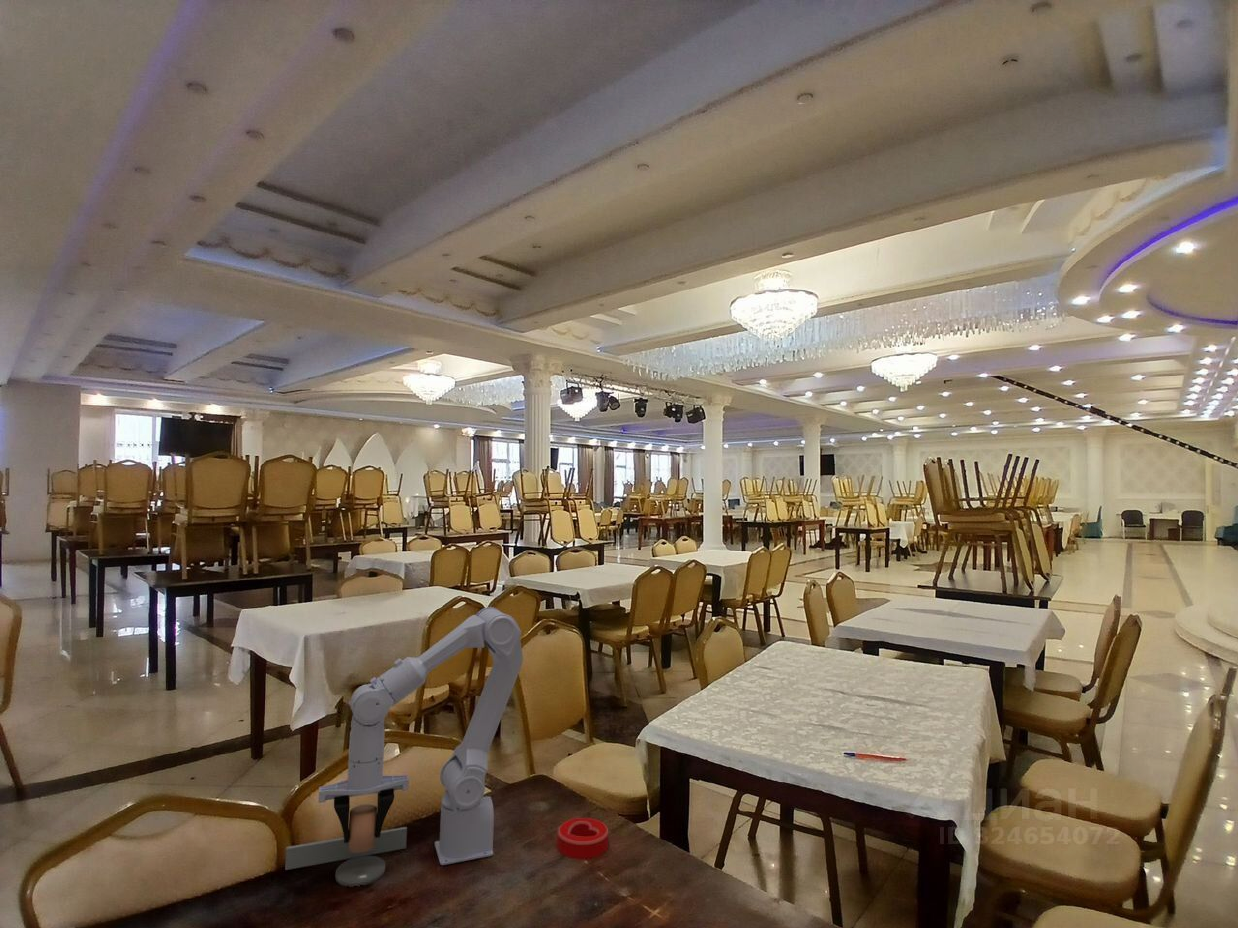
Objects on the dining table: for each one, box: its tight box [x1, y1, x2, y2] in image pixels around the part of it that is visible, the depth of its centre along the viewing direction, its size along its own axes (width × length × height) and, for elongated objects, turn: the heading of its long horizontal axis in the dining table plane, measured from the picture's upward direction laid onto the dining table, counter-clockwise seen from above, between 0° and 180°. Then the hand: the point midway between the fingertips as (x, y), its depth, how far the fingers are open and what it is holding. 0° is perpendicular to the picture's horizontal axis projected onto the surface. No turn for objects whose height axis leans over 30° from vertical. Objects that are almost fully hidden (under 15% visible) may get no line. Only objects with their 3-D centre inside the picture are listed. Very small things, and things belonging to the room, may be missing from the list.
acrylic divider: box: [284, 826, 408, 871], centre depth 115 cm, size 20×1×4 cm, turn 114°
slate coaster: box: [334, 855, 386, 888], centre depth 111 cm, size 8×8×1 cm
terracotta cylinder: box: [348, 804, 377, 853], centre depth 111 cm, size 4×4×6 cm
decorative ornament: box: [556, 817, 609, 860], centre depth 122 cm, size 10×10×3 cm
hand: (362, 837), depth 111 cm, fingers closed on terracotta cylinder, 4 cm apart
